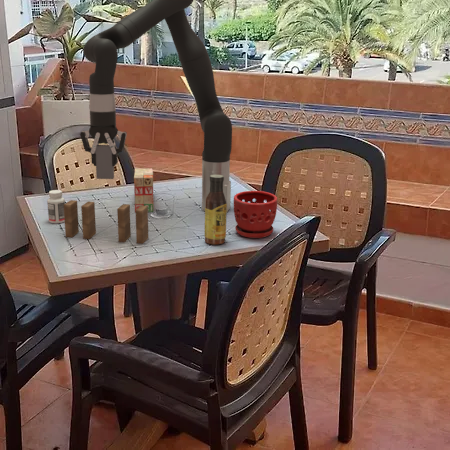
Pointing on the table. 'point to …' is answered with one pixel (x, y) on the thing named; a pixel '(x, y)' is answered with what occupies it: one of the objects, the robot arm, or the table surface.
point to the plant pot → (255, 213)
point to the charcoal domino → (104, 162)
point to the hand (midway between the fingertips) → (104, 165)
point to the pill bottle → (56, 207)
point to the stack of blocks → (143, 188)
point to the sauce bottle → (215, 212)
